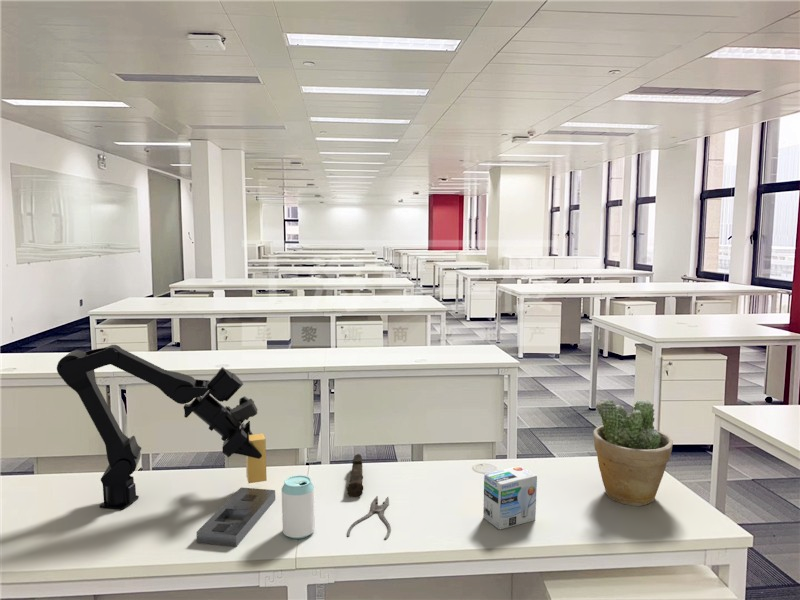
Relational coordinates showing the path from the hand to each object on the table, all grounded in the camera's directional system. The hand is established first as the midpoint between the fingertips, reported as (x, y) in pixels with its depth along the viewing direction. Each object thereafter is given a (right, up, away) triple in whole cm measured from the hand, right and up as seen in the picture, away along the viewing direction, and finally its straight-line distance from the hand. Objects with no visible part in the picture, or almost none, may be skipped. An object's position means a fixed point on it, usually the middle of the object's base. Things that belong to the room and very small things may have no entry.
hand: (260, 453), depth 152 cm
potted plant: (+93, -10, -3) cm, 94 cm away
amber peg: (-1, -7, 0) cm, 7 cm away
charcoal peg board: (-1, -11, -15) cm, 19 cm away
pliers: (+29, -12, -14) cm, 34 cm away
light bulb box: (+61, -12, -15) cm, 64 cm away
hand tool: (+24, -9, +6) cm, 26 cm away
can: (+13, -12, -21) cm, 28 cm away
